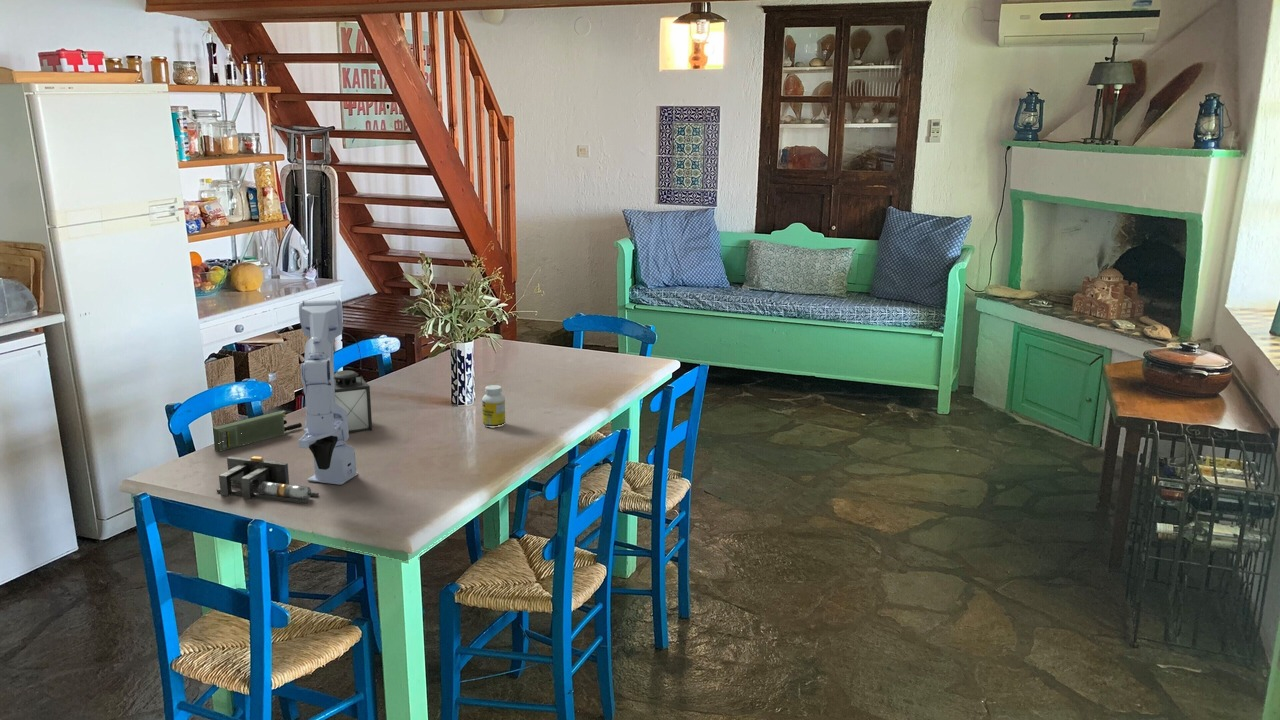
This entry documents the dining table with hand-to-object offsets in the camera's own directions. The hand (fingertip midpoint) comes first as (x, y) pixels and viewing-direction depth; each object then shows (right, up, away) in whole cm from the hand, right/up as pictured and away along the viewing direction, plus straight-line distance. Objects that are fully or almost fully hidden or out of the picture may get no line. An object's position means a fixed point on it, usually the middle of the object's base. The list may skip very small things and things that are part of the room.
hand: (324, 468), depth 216 cm
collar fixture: (-16, -7, +8) cm, 19 cm away
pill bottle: (+30, +6, +59) cm, 66 cm away
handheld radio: (-32, +3, +45) cm, 55 cm away
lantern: (-11, +5, +55) cm, 57 cm away
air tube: (-11, -7, +5) cm, 14 cm away
